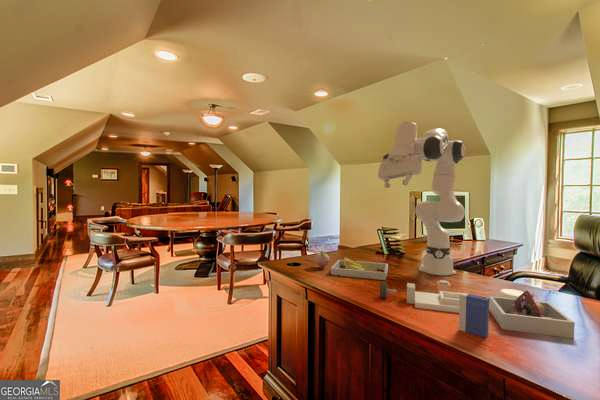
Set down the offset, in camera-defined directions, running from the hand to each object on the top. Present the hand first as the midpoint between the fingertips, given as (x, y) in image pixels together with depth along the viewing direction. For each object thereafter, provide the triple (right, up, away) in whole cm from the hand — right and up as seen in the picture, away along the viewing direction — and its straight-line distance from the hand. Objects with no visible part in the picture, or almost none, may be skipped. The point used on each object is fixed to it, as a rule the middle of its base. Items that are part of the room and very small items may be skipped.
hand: (395, 186), depth 129 cm
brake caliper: (+39, -48, -22) cm, 65 cm away
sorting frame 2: (+38, -48, -22) cm, 65 cm away
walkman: (+16, -48, -30) cm, 59 cm away
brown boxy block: (+23, -47, +7) cm, 52 cm away
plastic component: (-7, -46, +42) cm, 63 cm away
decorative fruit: (-27, -45, +49) cm, 72 cm away
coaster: (+49, -48, 0) cm, 68 cm away
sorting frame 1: (-7, -45, +41) cm, 62 cm away
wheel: (-3, -46, +1) cm, 46 cm away
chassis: (+15, -47, -5) cm, 50 cm away
